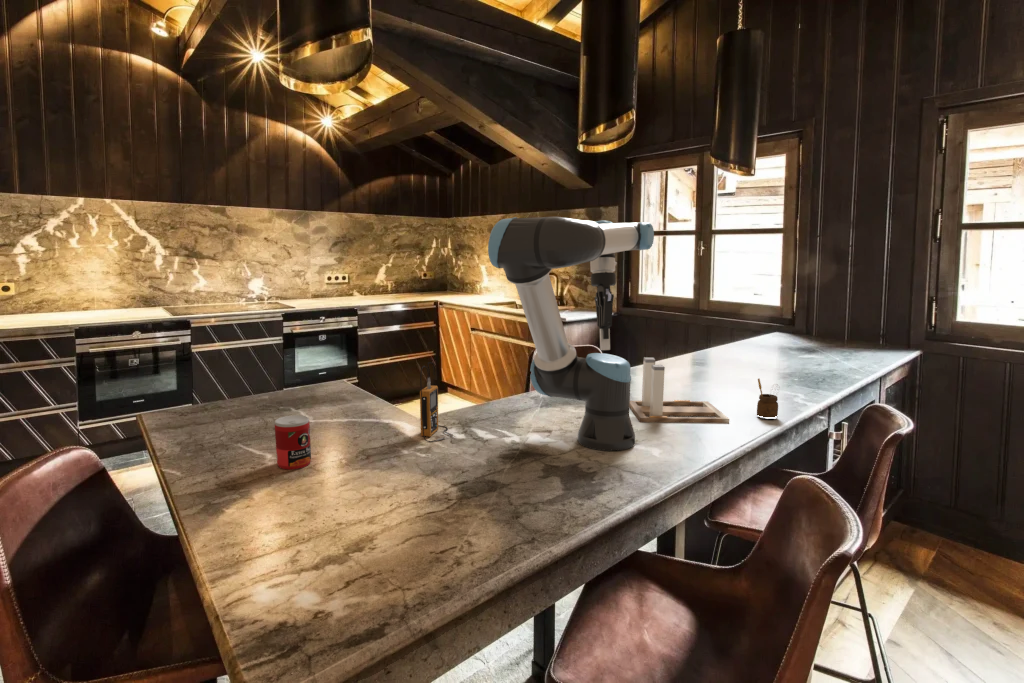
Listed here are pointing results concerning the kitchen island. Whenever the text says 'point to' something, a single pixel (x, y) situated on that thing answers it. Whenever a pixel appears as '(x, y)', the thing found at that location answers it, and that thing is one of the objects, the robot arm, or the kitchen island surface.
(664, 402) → the wooden compartment tray
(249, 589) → the kitchen island surface
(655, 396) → the white rectangular block
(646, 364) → the tall white block
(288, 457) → the canned food
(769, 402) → the utensil holder
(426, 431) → the multimeter
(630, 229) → the robot arm
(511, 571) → the kitchen island surface
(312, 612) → the kitchen island surface
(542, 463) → the kitchen island surface
